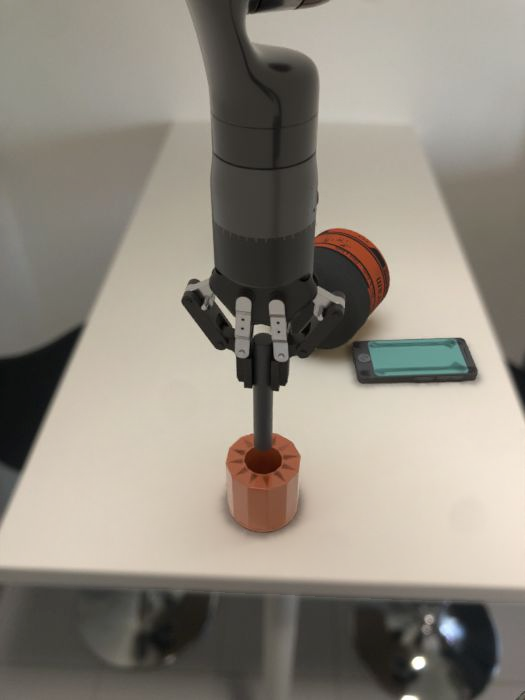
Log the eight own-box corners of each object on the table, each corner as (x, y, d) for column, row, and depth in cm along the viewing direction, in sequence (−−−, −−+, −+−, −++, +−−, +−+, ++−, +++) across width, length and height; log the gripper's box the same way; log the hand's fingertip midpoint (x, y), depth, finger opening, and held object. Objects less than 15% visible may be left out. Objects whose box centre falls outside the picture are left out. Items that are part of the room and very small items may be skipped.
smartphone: (351, 339, 89) (464, 336, 90) (350, 346, 90) (462, 343, 91) (359, 377, 84) (480, 373, 84) (359, 385, 85) (478, 381, 85)
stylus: (270, 455, 64) (272, 346, 56) (252, 453, 65) (250, 344, 56) (273, 441, 66) (275, 333, 57) (255, 439, 66) (254, 331, 57)
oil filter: (385, 324, 94) (397, 243, 85) (343, 374, 86) (352, 290, 78) (304, 293, 99) (308, 214, 91) (258, 338, 91) (257, 256, 83)
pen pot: (293, 536, 68) (296, 492, 63) (222, 527, 68) (220, 484, 64) (300, 479, 73) (303, 435, 69) (235, 472, 74) (233, 428, 69)
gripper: (156, 226, 46) (177, 405, 58) (358, 242, 45) (338, 422, 56) (182, 177, 52) (196, 348, 63) (362, 189, 50) (343, 363, 62)
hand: (263, 382), depth 60 cm, fingers closed on stylus, 2 cm apart
